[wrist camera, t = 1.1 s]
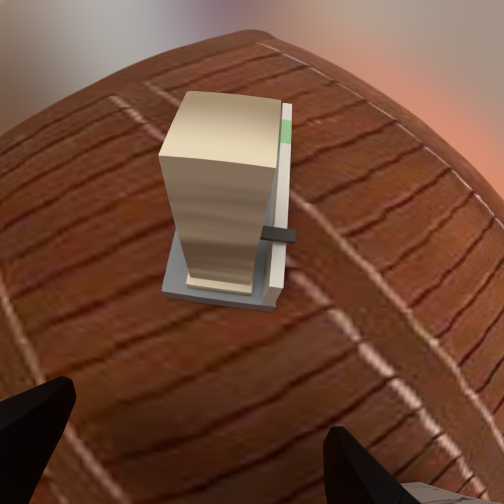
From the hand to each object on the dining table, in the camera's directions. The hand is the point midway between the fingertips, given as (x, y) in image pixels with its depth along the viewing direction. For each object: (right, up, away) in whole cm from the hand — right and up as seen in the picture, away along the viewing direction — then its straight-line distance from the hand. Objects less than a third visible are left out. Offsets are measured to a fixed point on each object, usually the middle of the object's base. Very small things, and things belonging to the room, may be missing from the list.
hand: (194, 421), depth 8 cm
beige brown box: (+1, +5, +13) cm, 14 cm away
